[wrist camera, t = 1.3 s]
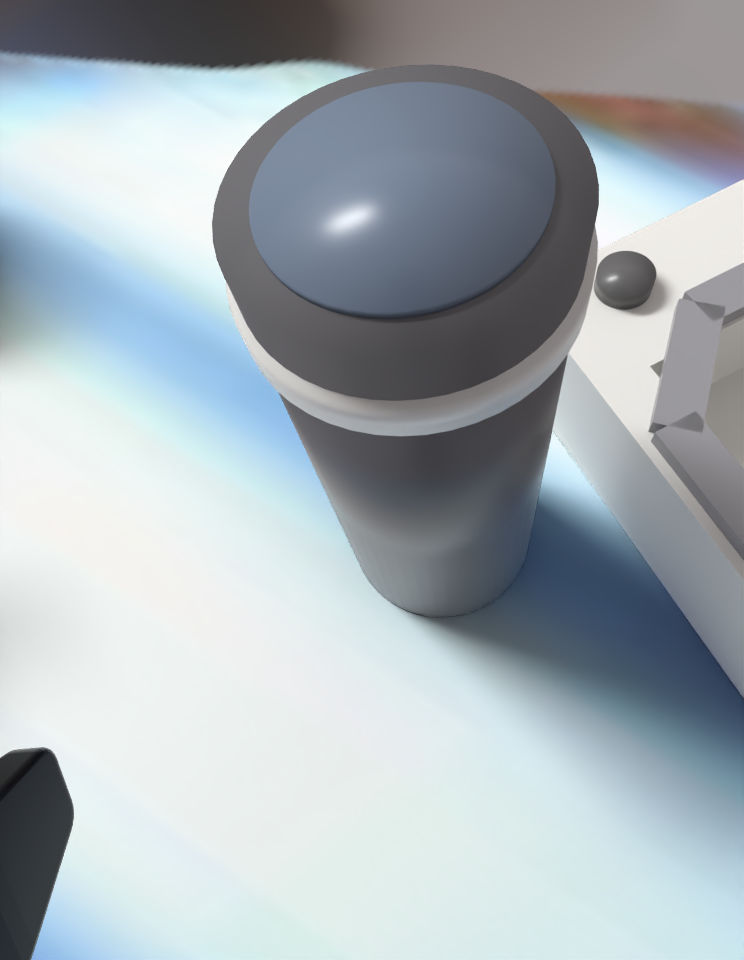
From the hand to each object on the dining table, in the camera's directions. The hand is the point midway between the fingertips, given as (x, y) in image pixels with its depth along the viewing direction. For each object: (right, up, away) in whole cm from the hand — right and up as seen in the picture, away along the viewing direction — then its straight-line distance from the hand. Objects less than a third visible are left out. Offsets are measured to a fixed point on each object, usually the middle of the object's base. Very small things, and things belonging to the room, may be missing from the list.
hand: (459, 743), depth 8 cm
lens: (+1, +1, +15) cm, 16 cm away
